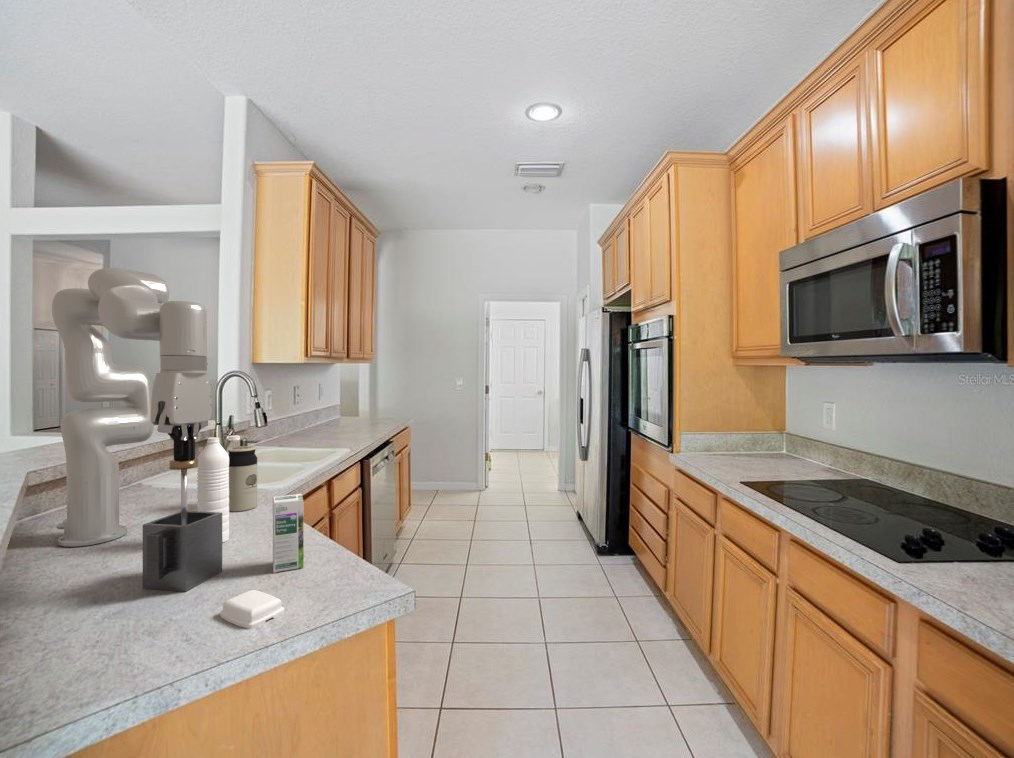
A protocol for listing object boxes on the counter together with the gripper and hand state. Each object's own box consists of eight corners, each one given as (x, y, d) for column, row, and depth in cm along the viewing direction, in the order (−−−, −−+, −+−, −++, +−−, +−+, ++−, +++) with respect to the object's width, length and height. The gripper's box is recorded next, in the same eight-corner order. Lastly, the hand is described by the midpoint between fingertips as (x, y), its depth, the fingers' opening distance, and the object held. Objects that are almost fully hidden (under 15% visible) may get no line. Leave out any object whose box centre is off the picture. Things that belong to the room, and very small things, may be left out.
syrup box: (272, 573, 93) (272, 502, 93) (272, 563, 98) (272, 495, 98) (303, 568, 96) (303, 498, 96) (301, 558, 101) (301, 492, 101)
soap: (288, 613, 79) (288, 596, 79) (249, 632, 73) (249, 614, 73) (255, 600, 83) (255, 584, 83) (216, 618, 77) (216, 600, 77)
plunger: (155, 544, 87) (154, 462, 87) (182, 533, 94) (182, 456, 94) (185, 546, 87) (185, 463, 86) (211, 535, 93) (211, 457, 93)
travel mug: (221, 509, 136) (221, 448, 136) (248, 503, 143) (248, 445, 143) (235, 513, 132) (235, 451, 132) (262, 507, 139) (262, 447, 139)
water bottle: (197, 548, 106) (197, 439, 106) (197, 539, 112) (197, 436, 111) (240, 541, 111) (240, 437, 111) (238, 533, 116) (238, 434, 116)
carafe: (130, 594, 84) (130, 528, 84) (182, 568, 95) (182, 510, 95) (175, 598, 83) (174, 531, 83) (222, 571, 94) (222, 512, 94)
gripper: (197, 366, 98) (197, 453, 98) (130, 365, 83) (131, 467, 83) (229, 366, 97) (230, 454, 97) (168, 365, 82) (168, 468, 82)
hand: (184, 459), depth 90 cm, fingers closed
